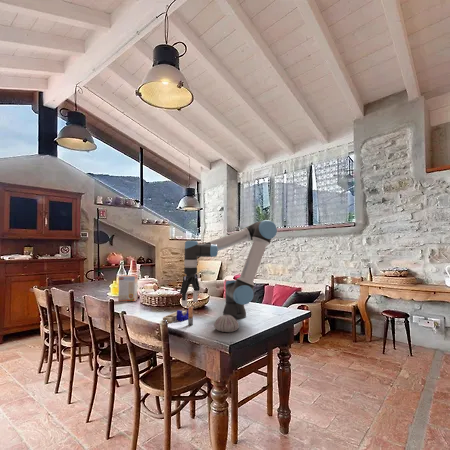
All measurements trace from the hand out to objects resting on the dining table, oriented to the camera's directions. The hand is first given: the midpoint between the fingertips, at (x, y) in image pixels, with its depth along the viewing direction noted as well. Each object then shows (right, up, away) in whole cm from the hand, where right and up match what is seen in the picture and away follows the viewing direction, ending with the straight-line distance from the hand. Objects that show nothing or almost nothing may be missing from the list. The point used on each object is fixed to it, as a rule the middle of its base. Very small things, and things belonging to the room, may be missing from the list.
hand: (190, 303), depth 170 cm
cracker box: (-60, -17, +72) cm, 95 cm away
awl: (0, -12, -1) cm, 12 cm away
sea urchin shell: (+21, -12, -11) cm, 26 cm away
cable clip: (-4, -13, +14) cm, 20 cm away
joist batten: (-11, -13, +13) cm, 21 cm away
